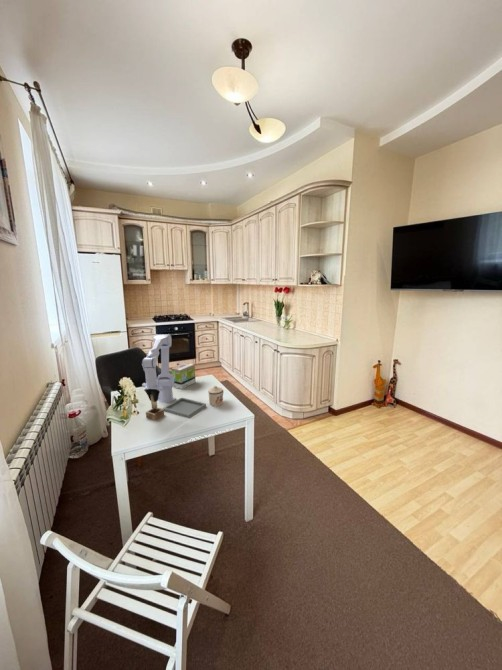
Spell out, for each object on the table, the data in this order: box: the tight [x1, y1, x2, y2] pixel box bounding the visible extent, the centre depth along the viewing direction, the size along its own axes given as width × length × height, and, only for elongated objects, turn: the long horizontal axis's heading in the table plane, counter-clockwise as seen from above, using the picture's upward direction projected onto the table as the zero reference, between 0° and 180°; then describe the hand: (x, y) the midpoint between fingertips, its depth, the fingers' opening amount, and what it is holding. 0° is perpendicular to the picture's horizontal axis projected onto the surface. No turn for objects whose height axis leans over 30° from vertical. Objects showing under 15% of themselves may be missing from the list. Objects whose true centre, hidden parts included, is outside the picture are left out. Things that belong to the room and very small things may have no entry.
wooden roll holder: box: [145, 407, 165, 421], centre depth 155 cm, size 7×7×4 cm
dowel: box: [150, 394, 158, 409], centre depth 154 cm, size 3×3×8 cm
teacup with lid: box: [207, 385, 225, 407], centre depth 170 cm, size 12×9×12 cm
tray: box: [162, 397, 207, 419], centre depth 164 cm, size 20×16×2 cm
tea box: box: [170, 362, 197, 390], centre depth 200 cm, size 15×10×15 cm
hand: (153, 400), depth 154 cm, fingers closed on dowel, 3 cm apart
